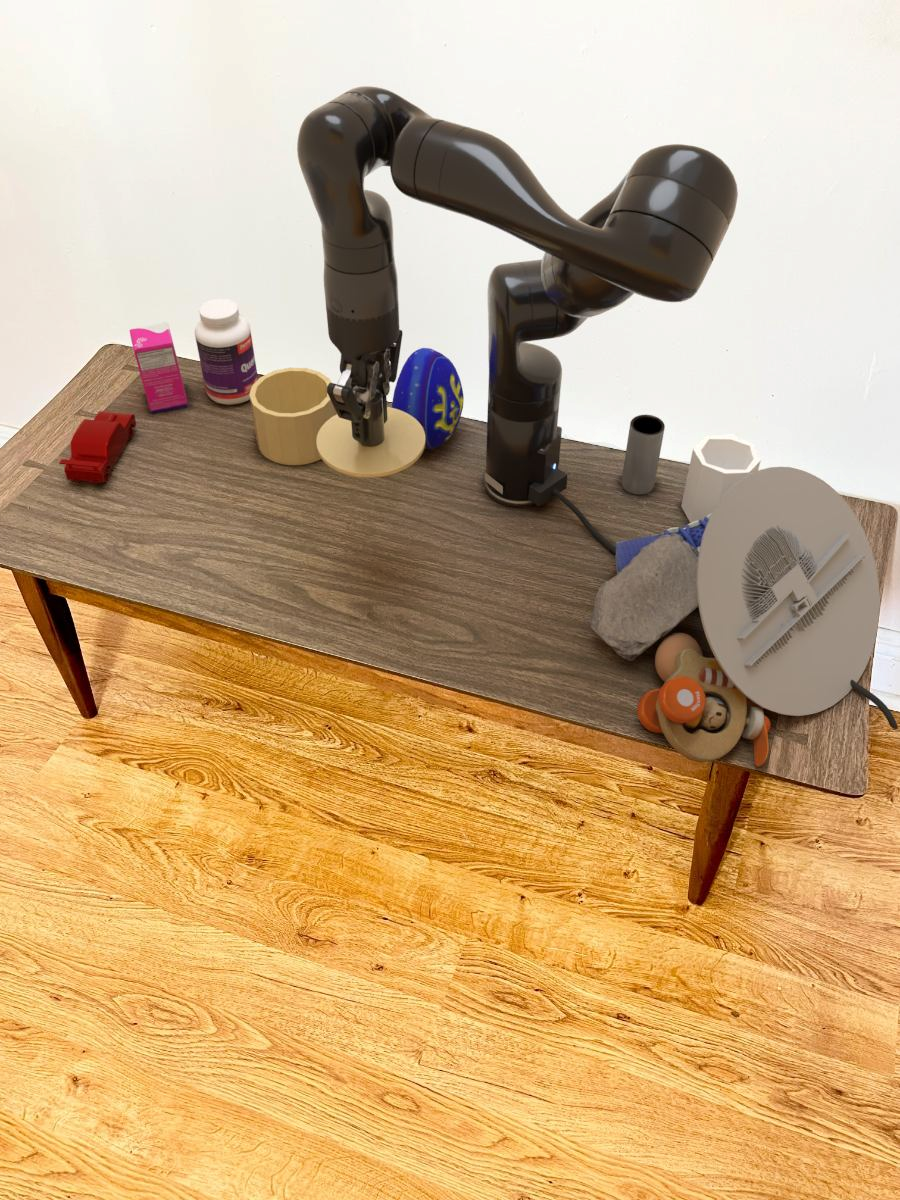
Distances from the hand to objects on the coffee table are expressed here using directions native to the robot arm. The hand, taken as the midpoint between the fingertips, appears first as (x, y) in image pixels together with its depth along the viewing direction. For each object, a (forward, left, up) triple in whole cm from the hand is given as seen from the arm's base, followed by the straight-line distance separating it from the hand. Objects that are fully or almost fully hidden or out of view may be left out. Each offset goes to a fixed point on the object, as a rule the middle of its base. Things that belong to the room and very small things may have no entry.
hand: (370, 430), depth 123 cm
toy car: (+46, -2, -21) cm, 50 cm away
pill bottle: (+38, -24, -21) cm, 49 cm away
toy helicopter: (-40, +5, -14) cm, 43 cm away
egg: (-41, +6, -18) cm, 45 cm away
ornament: (+6, -26, -21) cm, 34 cm away
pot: (+23, -18, -21) cm, 35 cm away
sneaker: (-41, -15, -21) cm, 48 cm away
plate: (-49, -7, -11) cm, 51 cm away
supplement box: (+45, -18, -21) cm, 53 cm away
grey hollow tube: (-25, -29, -21) cm, 44 cm away
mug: (-36, -30, -21) cm, 51 cm away
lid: (0, 0, -2) cm, 2 cm away
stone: (-30, -5, -14) cm, 33 cm away
